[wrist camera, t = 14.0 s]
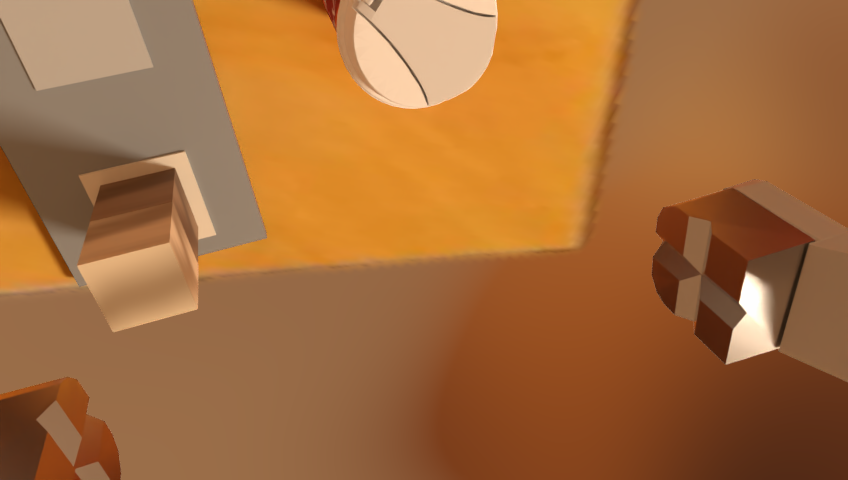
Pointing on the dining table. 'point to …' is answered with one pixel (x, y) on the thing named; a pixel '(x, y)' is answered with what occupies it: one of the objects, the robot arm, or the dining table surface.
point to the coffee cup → (414, 46)
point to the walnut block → (147, 199)
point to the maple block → (140, 266)
